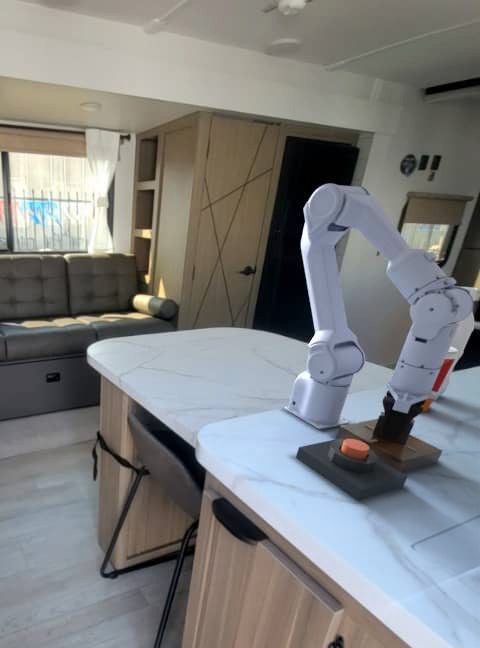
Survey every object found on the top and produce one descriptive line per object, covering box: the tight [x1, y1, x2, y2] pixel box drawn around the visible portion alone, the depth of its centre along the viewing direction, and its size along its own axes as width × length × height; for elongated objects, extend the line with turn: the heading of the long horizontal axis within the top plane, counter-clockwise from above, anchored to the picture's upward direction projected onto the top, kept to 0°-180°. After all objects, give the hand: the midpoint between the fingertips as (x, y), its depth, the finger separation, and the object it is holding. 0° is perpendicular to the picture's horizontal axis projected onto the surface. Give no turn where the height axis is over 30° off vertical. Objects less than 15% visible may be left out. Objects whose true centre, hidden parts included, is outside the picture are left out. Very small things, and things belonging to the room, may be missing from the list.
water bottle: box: [437, 286, 479, 397], centre depth 92 cm, size 7×7×25 cm
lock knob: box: [372, 411, 416, 444], centre depth 72 cm, size 5×2×4 cm, turn 49°
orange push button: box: [341, 439, 370, 459], centre depth 65 cm, size 4×4×2 cm
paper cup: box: [421, 346, 458, 413], centre depth 88 cm, size 8×8×14 cm
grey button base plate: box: [295, 438, 408, 502], centre depth 66 cm, size 12×10×4 cm
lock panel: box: [336, 418, 443, 473], centre depth 73 cm, size 12×10×3 cm
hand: (390, 434), depth 72 cm, fingers closed on lock knob, 2 cm apart
